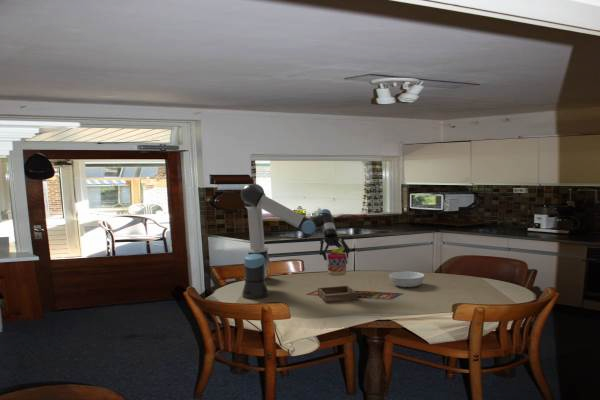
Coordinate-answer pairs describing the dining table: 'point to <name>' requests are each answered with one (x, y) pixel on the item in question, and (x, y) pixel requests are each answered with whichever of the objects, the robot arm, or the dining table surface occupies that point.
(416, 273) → the serving bowl
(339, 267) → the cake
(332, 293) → the box
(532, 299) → the dining table surface
